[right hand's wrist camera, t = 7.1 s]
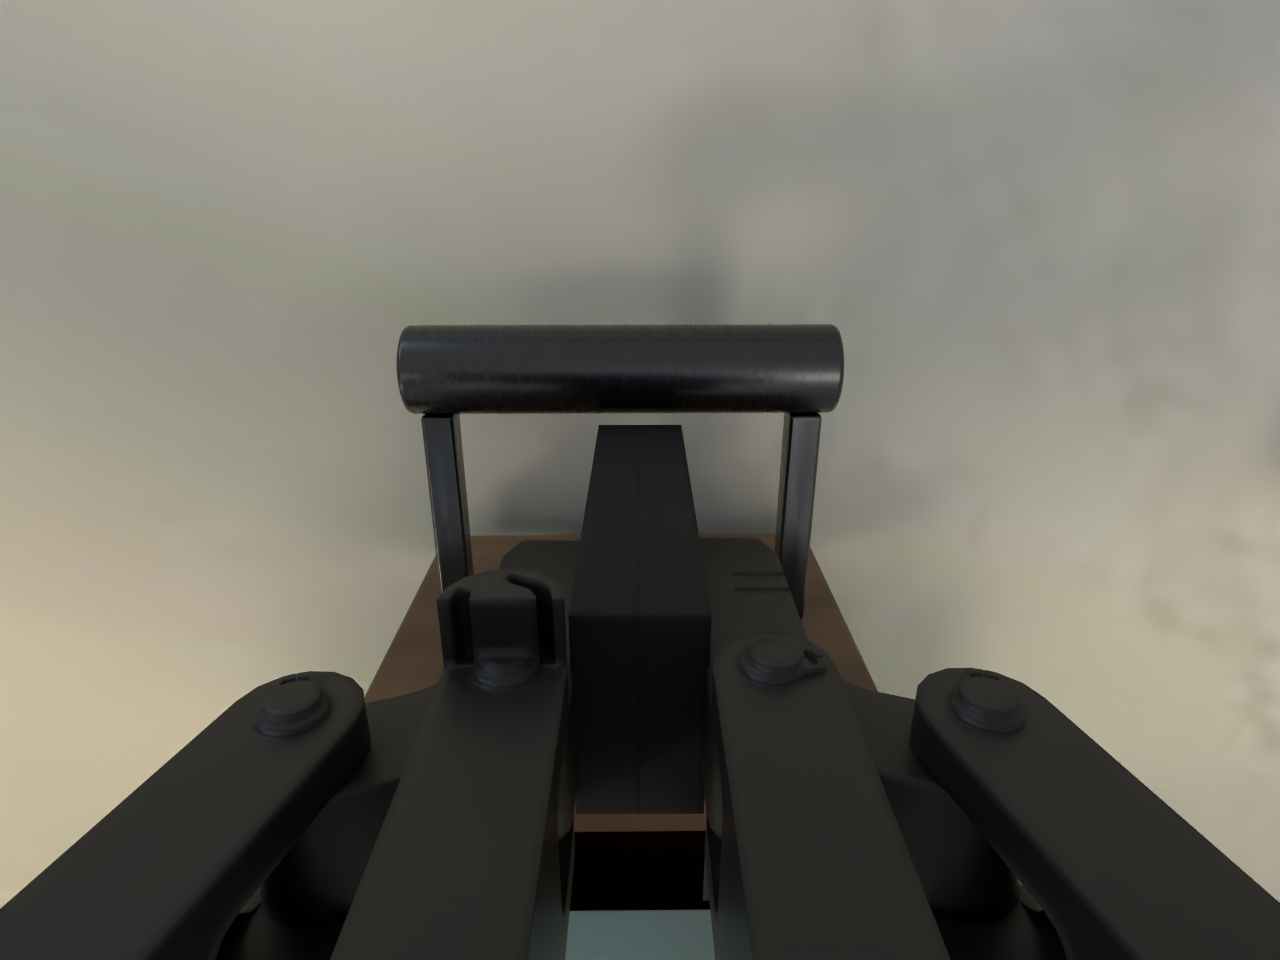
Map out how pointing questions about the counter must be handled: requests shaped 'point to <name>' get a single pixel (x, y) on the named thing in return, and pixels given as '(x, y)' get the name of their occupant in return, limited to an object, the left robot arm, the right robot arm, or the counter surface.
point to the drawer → (580, 383)
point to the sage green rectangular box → (640, 935)
